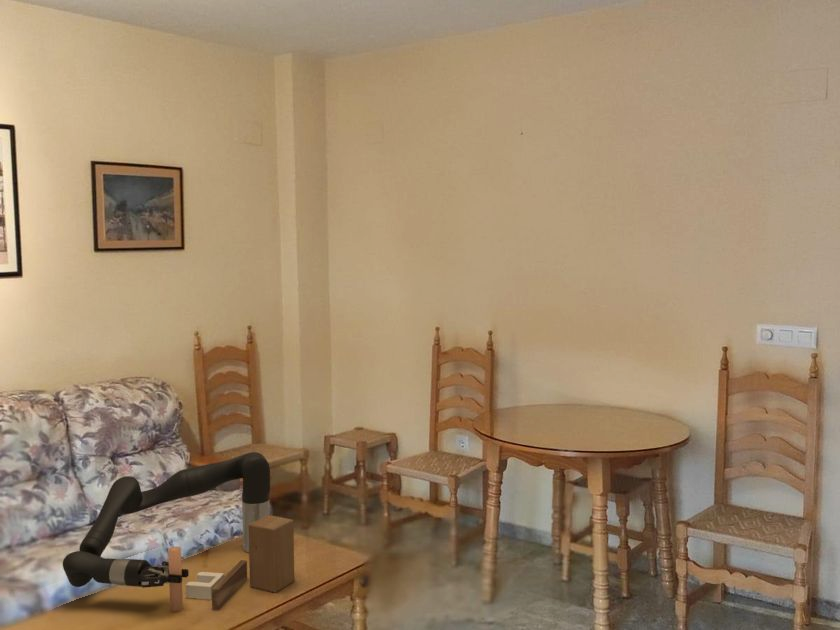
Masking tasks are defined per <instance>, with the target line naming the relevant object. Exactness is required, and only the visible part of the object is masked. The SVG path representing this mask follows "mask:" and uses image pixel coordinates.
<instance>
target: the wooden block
mask: <svg viewBox="0 0 840 630" xmlns="http://www.w3.org/2000/svg"><path fill="white" fill-rule="evenodd" d="M294 533H295V531H294V519H290V518H285V517H281V516H275V515H272V514H271V515H267V516H265V517H263V518H261V519H259V520H257V521H255V522H253V523H251V524H249V552H248V554H249V555H248V558H249V559H248V560H249V563H248V564H249V587H251V588H254V589H258V590H262V591H266V592H271V593H277V592H279V591H280V590H282V589H284V588H286V587H287V586H289V585H290V584H292V583H294V582H295V542H294V541H295V540H294V539H295V538H294V535H295V534H294Z"/></svg>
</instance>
